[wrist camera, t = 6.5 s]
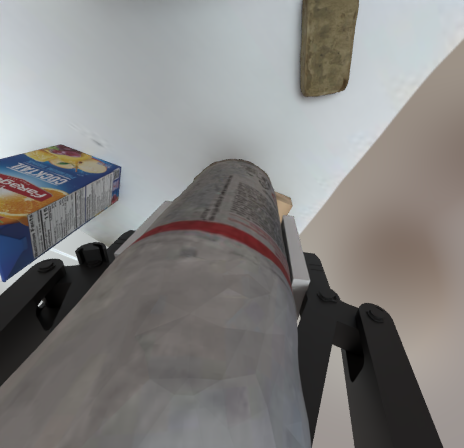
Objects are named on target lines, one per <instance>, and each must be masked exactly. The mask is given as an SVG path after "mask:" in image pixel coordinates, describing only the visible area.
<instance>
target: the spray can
mask: <svg viewBox="0 0 464 448" xmlns="http://www.w3.org/2000/svg"><path fill="white" fill-rule="evenodd" d="M0 448H311V439H310V430H309V422H308V417H307V412H306V407H305V402H304V397H303V393H302V386H301V380H300V373H299V364H298V330H297V318H296V307H295V301H294V296H293V291H292V286H291V282H290V273H289V267H288V263H287V257H286V253H285V247H284V242H283V237H282V230H281V222H280V217H279V213H278V206H277V199H276V194H275V191H274V189H273V187H272V185H271V182H270V179H269V177H268V175H267V173H265V171H263V170H262V169H260V168H259V167H258V166H256V165H254V164H253V163H251V162H249V161H244V160H242V159H241V160H240V159H239V160H237V159H228V160H227V159H226V160H222V161H219V162H215V163H212V164H210V166H208V167H207V168H206V169H204V170H203V171H202V172H201V173H200V174H199V175H198V176H196V177H195V178H194V181H193V183H192V184H190V185H189V186H188V187H187V189H186V190H184V191H183V193H182V194H181V195H180V196H179V197H177V198H176V199H175V200H174V201H173V202H172V204H171V205H170V206H169V207H168V208H166V209H165V211H164V212H163V213H162V214H161V215H160V216H159V217H158V218H157V219H156V220H155V221H154V223H153V224H152V225H151V226H150V227H149V228H148V229H147V230H146V231H145V233H144V234H143V235H142V236H141V237H139V238H138V239H137V240H136V241H135V242H133V243H132V244H131V245H130V246H129V247H128V248H126V249H125V250H124V251H123V252H122V253H121V254H120V255H119V256H118V257H117V258H116V259H115V260H114V261H113V262H112V263H111V265H110V266H109V267H108V268H107V269H106V270H105V272H104V273H103V274H102V275H101V276H100V278H99V279H98V280H97V281H96V282H95V284H94V285H93V286H92V287H91V288H90V289H89V291H88V292H87V293H86V294H85V295H84V297H83V298H82V299H81V300H80V301H79V302H78V304H77V305H76V306H75V307H74V308H73V309H72V310H71V311H70V312H69V313H68V315H67V316H66V317H65V318H64V319H63V320H62V321H61V322H60V323H59V324H58V326H57V327H56V328H55V329H54V330H53V331H52V332H51V333H50V334H49V335H48V337H47V338H46V339H45V340H44V341H43V342H42V343H41V344H40V345H39V346H38V348H37V349H36V350H35V351H34V352H33V353H32V354H31V355H30V356H29V357H28V358H27V359H26V360H25V361H24V362H23V363H22V365H21V366H20V367H19V368H18V369H17V370H16V371H15V372H14V373H13V374H12V375H11V376H10V377H9V378H8V379H7V380H6V381H5V382H4V383H3V385H2V386H1V387H0Z"/></svg>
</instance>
